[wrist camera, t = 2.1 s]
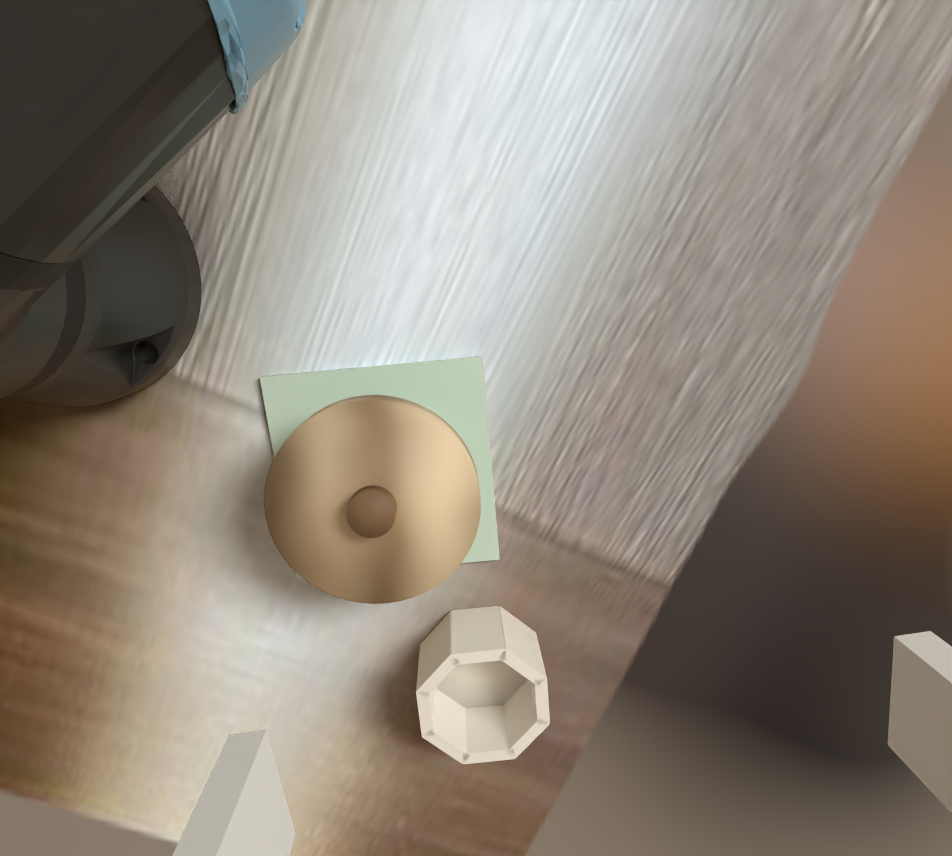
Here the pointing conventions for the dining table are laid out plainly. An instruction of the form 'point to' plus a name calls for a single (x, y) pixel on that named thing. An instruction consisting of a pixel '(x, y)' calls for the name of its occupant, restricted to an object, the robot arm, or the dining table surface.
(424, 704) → the ramekin
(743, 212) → the dining table surface
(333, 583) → the lid
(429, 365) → the mat stand
